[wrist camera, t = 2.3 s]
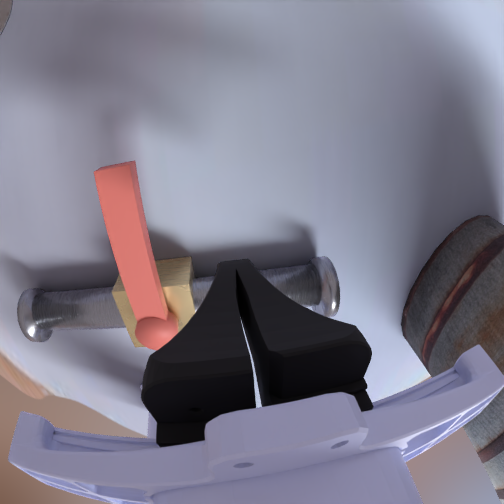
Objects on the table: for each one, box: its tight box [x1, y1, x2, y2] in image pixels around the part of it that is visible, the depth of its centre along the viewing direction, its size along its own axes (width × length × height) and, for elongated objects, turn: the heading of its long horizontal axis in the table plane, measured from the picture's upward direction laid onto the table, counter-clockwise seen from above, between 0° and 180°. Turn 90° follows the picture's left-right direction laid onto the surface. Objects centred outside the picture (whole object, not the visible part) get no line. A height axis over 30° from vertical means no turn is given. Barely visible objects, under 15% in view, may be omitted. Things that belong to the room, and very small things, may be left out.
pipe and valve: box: [17, 256, 340, 347], centre depth 21 cm, size 6×28×5 cm, turn 93°
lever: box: [94, 161, 178, 350], centre depth 17 cm, size 14×3×1 cm, turn 3°
